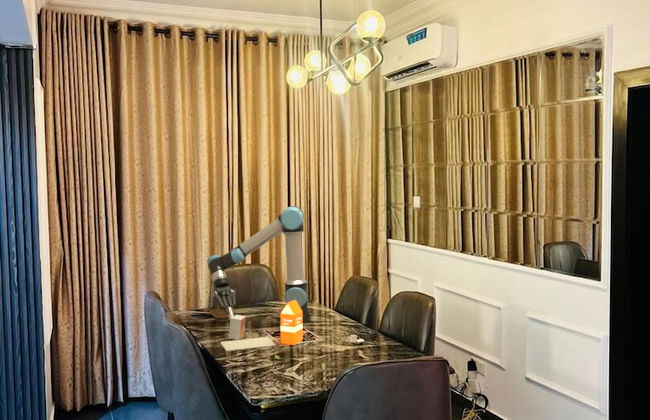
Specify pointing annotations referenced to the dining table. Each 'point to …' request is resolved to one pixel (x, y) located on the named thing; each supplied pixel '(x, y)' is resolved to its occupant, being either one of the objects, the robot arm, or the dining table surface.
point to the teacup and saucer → (355, 338)
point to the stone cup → (220, 310)
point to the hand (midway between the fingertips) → (232, 319)
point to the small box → (237, 327)
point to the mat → (247, 344)
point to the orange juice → (291, 324)
